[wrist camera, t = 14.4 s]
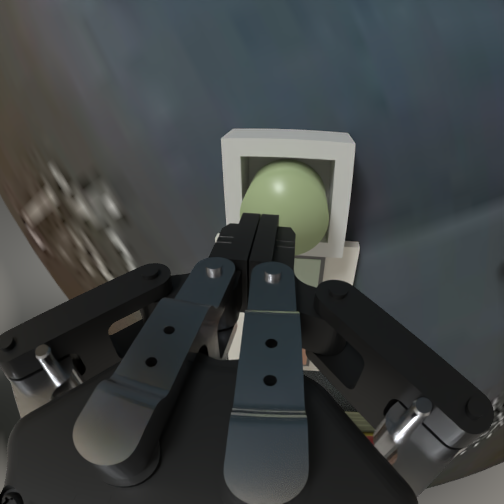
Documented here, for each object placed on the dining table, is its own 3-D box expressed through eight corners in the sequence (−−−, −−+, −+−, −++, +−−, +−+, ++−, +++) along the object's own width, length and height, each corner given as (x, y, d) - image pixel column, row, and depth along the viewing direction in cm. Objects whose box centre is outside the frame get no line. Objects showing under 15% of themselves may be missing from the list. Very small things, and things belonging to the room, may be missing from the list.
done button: (328, 161, 16) (332, 178, 14) (322, 231, 18) (324, 259, 16) (248, 157, 17) (237, 174, 14) (250, 227, 19) (241, 253, 17)
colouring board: (358, 241, 21) (360, 249, 20) (331, 365, 28) (331, 372, 28) (217, 233, 22) (214, 239, 22) (230, 356, 30) (228, 364, 29)
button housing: (348, 133, 17) (355, 143, 15) (338, 234, 21) (342, 258, 18) (233, 128, 18) (221, 138, 16) (237, 227, 22) (228, 250, 19)
